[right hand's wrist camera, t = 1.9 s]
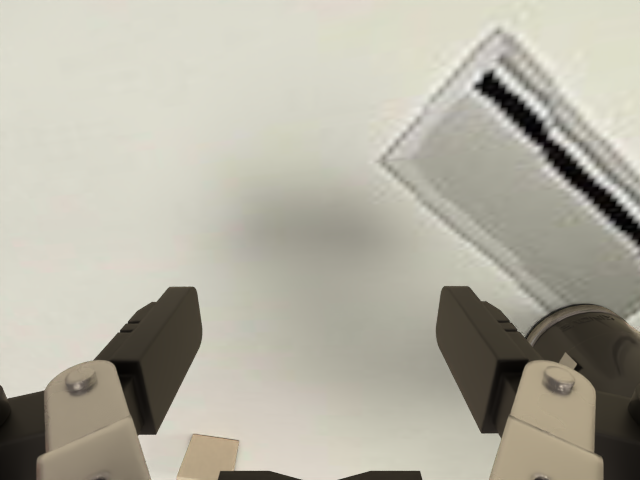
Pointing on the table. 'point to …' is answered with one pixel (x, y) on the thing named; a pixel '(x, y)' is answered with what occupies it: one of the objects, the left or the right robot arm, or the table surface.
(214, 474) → the beige cube
